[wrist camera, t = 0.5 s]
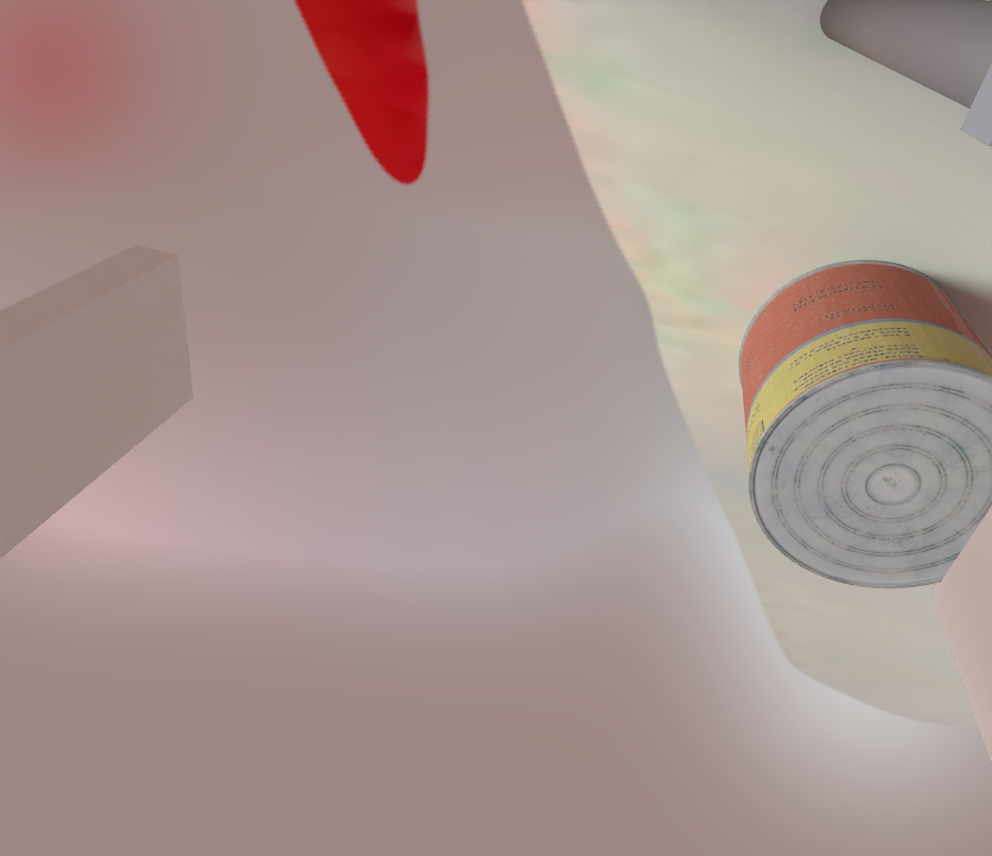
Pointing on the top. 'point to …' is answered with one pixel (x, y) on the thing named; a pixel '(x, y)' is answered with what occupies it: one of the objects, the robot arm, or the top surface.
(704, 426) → the top surface
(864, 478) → the canned food
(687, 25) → the top surface
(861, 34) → the grey l-shaped post
